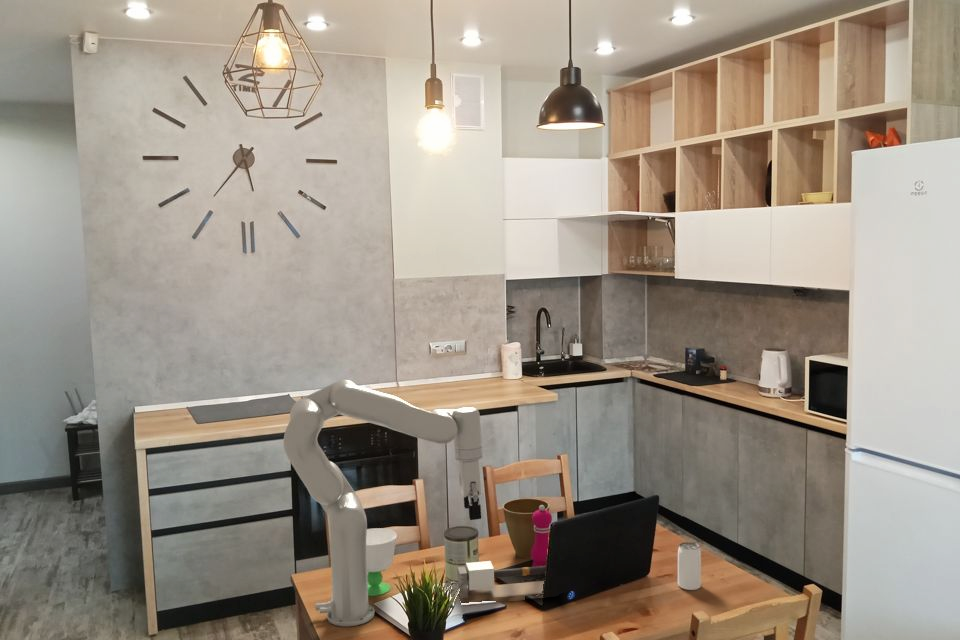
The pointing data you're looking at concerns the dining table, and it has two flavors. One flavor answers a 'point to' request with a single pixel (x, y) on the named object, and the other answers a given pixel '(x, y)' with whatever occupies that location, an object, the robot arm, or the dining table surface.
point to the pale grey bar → (501, 586)
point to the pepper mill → (540, 536)
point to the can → (689, 566)
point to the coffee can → (459, 549)
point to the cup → (379, 558)
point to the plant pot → (522, 523)
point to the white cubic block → (480, 575)
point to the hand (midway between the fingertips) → (472, 513)
